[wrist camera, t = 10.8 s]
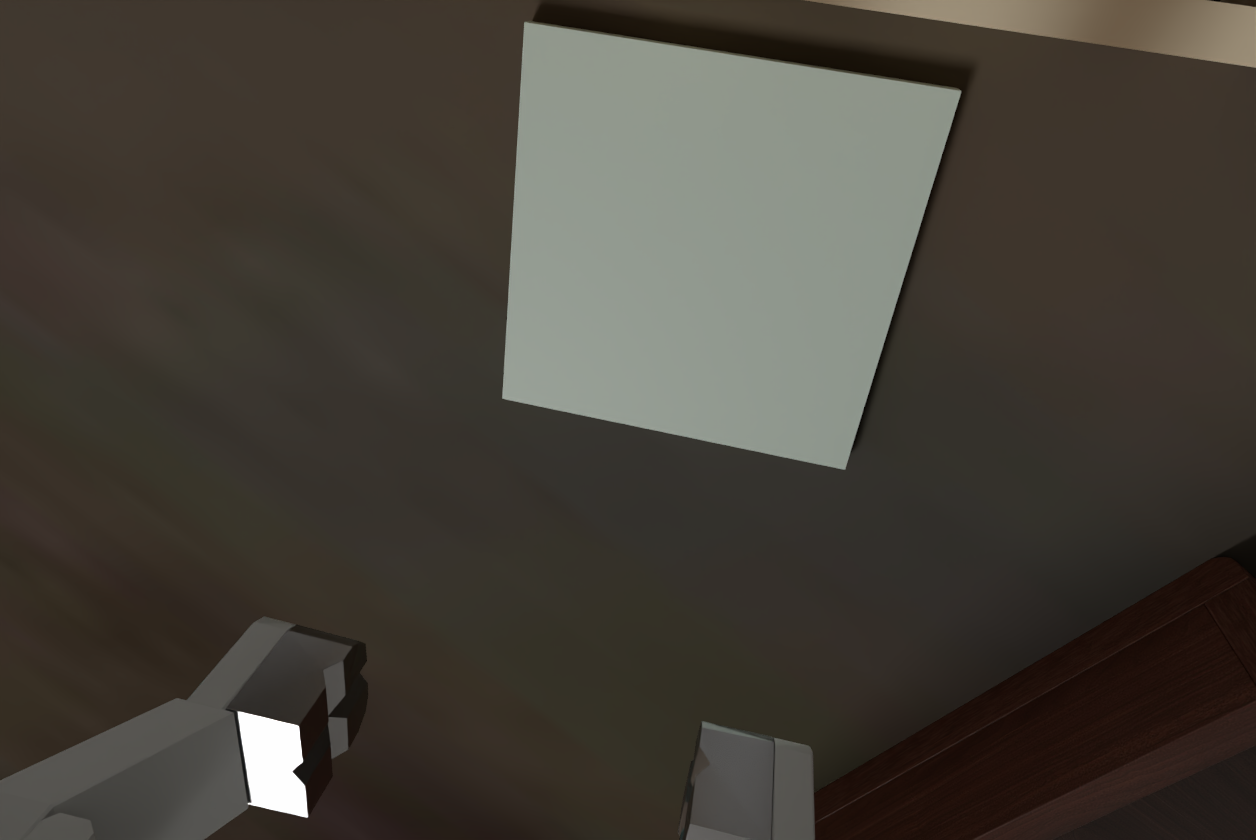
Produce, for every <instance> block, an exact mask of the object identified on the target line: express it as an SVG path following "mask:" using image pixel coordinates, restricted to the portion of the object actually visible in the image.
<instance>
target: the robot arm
mask: <svg viewBox="0 0 1256 840" xmlns="http://www.w3.org/2000/svg"><path fill="white" fill-rule="evenodd" d="M366 661H367V656H366V644H365V643H363V642H360V641H357V640H353V639H349V638H346V637H342V636H338V635H334V634H331V633H327V632H323V631H319V630H316V629H312V628H308V627H304V626H301V625H295V624H291V623H288V622H284V621H280V620H276V619H272V618H268V617H263V618H261V619H259V620H257V621H256V622H254V623H253V624H252V625H251V626H250V627H249V628H248V629H247V631H246V632H245V633H244V634H243V635H242V636H241V638H240V639H239V640H238V641H237V642H236V643H235V645H234V646H233V647H232V648H231V649H230V650H229V652H228V653H227V654H226V655H225V656H224V657H223V659H222V660H221V661H220V662H219V663H218V664H217V666H216V667H215V668H214V669H213V670H212V671H211V673H210V674H209V675H208V676H207V677H206V678H205V679H204V681H203V682H202V683H201V684H200V685H199V686H198V688H197V689H196V690H195V691H194V692H193V693H192V695H191V696H190V697H189V698H188V699H187V700H183V699H178V698H176V699H174V700H172V701H170V702H167V703H165V704H163V705H161V706H159V707H157V708H155V709H152V710H150V711H148V712H146V713H144V714H142V715H140V716H137V717H135V718H133V719H131V720H129V721H127V722H125V723H122V724H120V725H118V726H116V727H114V728H112V729H110V730H107V731H105V732H103V733H101V734H99V735H97V736H95V737H92V738H90V739H88V740H86V741H84V742H82V743H80V744H78V745H75V746H73V747H71V748H69V749H67V750H65V751H63V752H60V753H58V754H56V755H54V756H52V757H50V758H48V759H45V760H43V761H41V762H39V763H37V764H35V765H33V766H30V767H28V768H26V769H24V770H22V771H20V772H18V773H15V774H13V775H11V776H9V777H7V778H5V779H3V780H0V840H204V839H205V838H207V837H208V836H209V835H211V834H212V833H214V832H215V831H217V830H218V829H219V828H221V827H222V826H224V825H225V824H226V823H228V822H229V821H231V820H232V819H234V818H235V817H236V816H238V815H239V814H241V813H242V812H243V811H245V810H246V809H248V804H250V805H255V806H259V807H263V808H268V809H272V810H277V811H281V812H285V813H290V814H294V815H299V816H303V817H307V818H308V817H309V815H310V813H311V812H312V810H313V808H314V807H315V805H316V803H317V802H318V800H319V798H320V796H321V795H322V793H323V791H324V790H325V788H326V786H327V785H328V783H329V781H330V780H331V778H332V776H333V775H332V759H333V758H334V757H336V756H338V755H339V754H341V753H343V752H345V751H346V750H348V749H349V747H350V745H351V744H352V742H353V740H354V738H355V737H356V735H357V733H358V731H359V728H360V725H361V723H362V720H363V717H364V714H365V712H366V706H367V699H368V683H367V682H366V680H365V679H364V678H363V676H362V675H361V674H360V671H361V669H362V668H363V666H364V665H365V663H366ZM678 833H679V835H680V838H679V840H815V820H814V780H813V752H812V750H811V748H810V746H807V745H803V744H799V743H794V742H790V741H786V740H782V739H777V738H773V739H772V737H771V736H766V735H762V734H757V733H753V732H748V731H744V730H739V729H735V728H730V727H726V726H721V725H717V724H713V723H708V722H704V721H702V722H701V725H700V728H699V732H698V735H697V739H696V746H695V753H694V760H693V761H691V764H690V768H689V773H688V777H687V782H686V786H685V791H684V796H683V802H682V808H681V815H680V821H679V828H678Z"/></svg>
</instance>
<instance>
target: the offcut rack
mask: <svg viewBox="0 0 1256 840" xmlns="http://www.w3.org/2000/svg"><path fill="white" fill-rule="evenodd" d="M806 1H813V2H820V3H826V4H833V5H840V6H846V7H853V8H860V9H866V10H873V11H880V12H887V13H893V14H900V15H907V16H913V17H920V18H927V19H934V20H940V21H947V22H954V23H960V24H967V25H974V26H980V27H987V28H994V29H1001V30H1007V31H1014V32H1021V33H1027V34H1034V35H1041V36H1048V37H1054V38H1061V39H1068V40H1074V41H1081V42H1088V43H1094V44H1101V45H1108V46H1115V47H1121V48H1128V49H1135V50H1141V51H1148V52H1155V53H1162V54H1168V55H1175V56H1182V57H1188V58H1195V59H1202V60H1208V61H1215V62H1222V63H1229V64H1235V65H1242V66H1249V67H1255V68H1256V0H1221V1H1220V2H1216V1H1209V0H806Z"/></svg>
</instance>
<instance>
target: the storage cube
mask: <svg viewBox="0 0 1256 840" xmlns="http://www.w3.org/2000/svg"><path fill="white" fill-rule="evenodd" d="M814 820H815V840H1256V578H1254V577H1253V576H1252V575H1251V574H1250V573H1249V572H1248V571H1247V570H1246V569H1244V568H1243V567H1242V566H1241V565H1240V564H1239V563H1238V562H1237V561H1235V560H1234V559H1232V558H1229V557H1217V558H1212V559H1210V560H1208V561H1206V562H1205V563H1203V564H1201V565H1200V566H1198V567H1196V568H1195V569H1193V570H1191V571H1190V572H1188V573H1186V574H1184V575H1183V576H1181V577H1179V578H1178V579H1176V580H1174V581H1173V582H1171V583H1169V584H1168V585H1166V586H1164V587H1162V588H1161V589H1159V590H1157V591H1156V592H1154V593H1152V594H1151V595H1149V596H1147V597H1146V598H1144V599H1142V600H1140V601H1139V602H1137V603H1135V604H1134V605H1132V606H1130V607H1129V608H1127V609H1125V610H1123V611H1122V612H1120V613H1118V614H1117V615H1115V616H1113V617H1112V618H1110V619H1108V620H1107V621H1105V622H1103V623H1101V624H1100V625H1098V626H1096V627H1095V628H1093V629H1091V630H1090V631H1088V632H1086V633H1085V634H1083V635H1081V636H1079V637H1078V638H1076V639H1074V640H1073V641H1071V642H1069V643H1068V644H1066V645H1064V646H1063V647H1061V648H1059V649H1057V650H1056V651H1054V652H1052V653H1051V654H1049V655H1047V656H1046V657H1044V658H1042V659H1041V660H1039V661H1037V662H1035V663H1034V664H1032V665H1030V666H1029V667H1027V668H1025V669H1024V670H1022V671H1020V672H1019V673H1017V674H1015V675H1013V676H1012V677H1010V678H1008V679H1007V680H1005V681H1003V682H1002V683H1000V684H998V685H997V686H995V687H993V688H991V689H990V690H988V691H986V692H985V693H983V694H981V695H980V696H978V697H976V698H975V699H973V700H971V701H969V702H968V703H966V704H964V705H963V706H961V707H959V708H958V709H956V710H954V711H953V712H951V713H949V714H947V715H946V716H944V717H942V718H941V719H939V720H937V721H936V722H934V723H932V724H931V725H929V726H927V727H925V728H924V729H922V730H920V731H919V732H917V733H915V734H914V735H912V736H910V737H908V738H907V739H905V740H903V741H902V742H900V743H898V744H897V745H895V746H893V747H892V748H890V749H888V750H886V751H885V752H883V753H881V754H880V755H878V756H876V757H875V758H873V759H871V760H870V761H868V762H866V763H864V764H863V765H861V766H859V767H858V768H856V769H854V770H853V771H851V772H849V773H848V774H846V775H844V776H842V777H841V778H839V779H837V780H836V781H834V782H832V783H831V784H829V785H827V786H826V787H824V788H822V789H820V790H819V791H817V792H815V793H814Z"/></svg>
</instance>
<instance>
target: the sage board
mask: <svg viewBox="0 0 1256 840" xmlns="http://www.w3.org/2000/svg"><path fill="white" fill-rule="evenodd" d="M961 92H962V91H961V90H960V89H958V88H954V87H948V86H941V85H935V84H928V83H922V82H916V81H909V80H903V79H897V78H890V77H884V76H878V75H871V74H865V73H858V72H852V71H846V70H839V69H833V68H827V67H820V66H814V65H808V64H801V63H795V62H788V61H782V60H776V59H769V58H763V57H757V56H750V55H744V54H738V53H731V52H725V51H719V50H712V49H706V48H699V47H693V46H687V45H680V44H674V43H668V42H661V41H655V40H649V39H642V38H636V37H629V36H623V35H617V34H610V33H604V32H598V31H591V30H585V29H579V28H572V27H566V26H560V25H553V24H547V23H540V22H534V21H529V22H524V38H523V55H522V72H521V89H520V106H519V123H518V140H517V158H516V175H515V192H514V209H513V226H512V243H511V260H510V277H509V295H508V312H507V329H506V346H505V363H504V380H503V397H502V399H506V400H511V401H516V402H521V403H526V404H531V405H535V406H540V407H545V408H550V409H555V410H559V411H564V412H569V413H574V414H579V415H584V416H588V417H593V418H598V419H603V420H608V421H612V422H617V423H622V424H627V425H632V426H637V427H641V428H646V429H651V430H656V431H661V432H665V433H670V434H675V435H680V436H685V437H690V438H694V439H699V440H704V441H709V442H714V443H718V444H723V445H728V446H733V447H738V448H742V449H747V450H752V451H757V452H762V453H767V454H771V455H776V456H781V457H786V458H791V459H795V460H800V461H805V462H810V463H815V464H820V465H824V466H829V467H834V468H839V469H844V470H845V468H846V465H847V462H848V458H849V455H850V452H851V449H852V445H853V442H854V439H855V436H856V432H857V429H858V426H859V423H860V419H861V416H862V413H863V410H864V406H865V403H866V400H867V397H868V393H869V390H870V387H871V384H872V380H873V377H874V374H875V371H876V367H877V364H878V361H879V358H880V354H881V351H882V348H883V345H884V341H885V338H886V335H887V332H888V328H889V325H890V322H891V319H892V315H893V312H894V309H895V306H896V303H897V299H898V296H899V293H900V290H901V286H902V283H903V280H904V277H905V273H906V270H907V267H908V264H909V260H910V257H911V254H912V251H913V247H914V244H915V241H916V238H917V234H918V231H919V228H920V225H921V221H922V218H923V215H924V212H925V208H926V205H927V202H928V199H929V195H930V192H931V189H932V186H933V182H934V179H935V176H936V173H937V169H938V166H939V163H940V160H941V156H942V153H943V150H944V147H945V144H946V140H947V137H948V134H949V131H950V127H951V124H952V121H953V118H954V114H955V111H956V108H957V105H958V101H959V98H960V95H961Z"/></svg>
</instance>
